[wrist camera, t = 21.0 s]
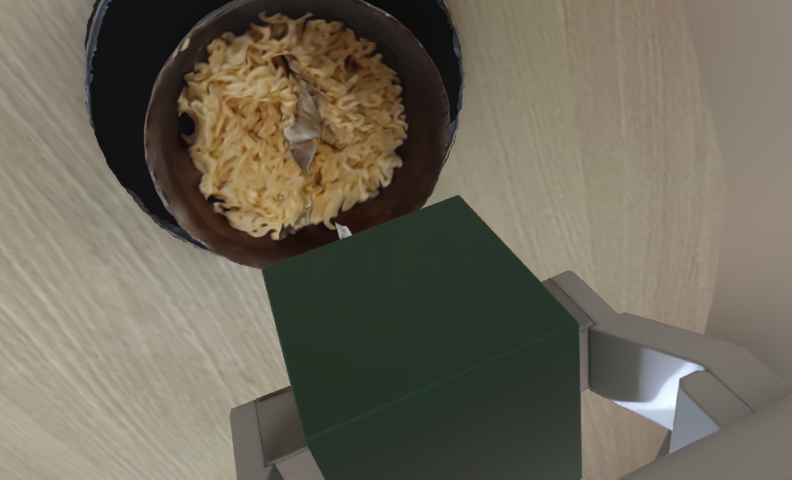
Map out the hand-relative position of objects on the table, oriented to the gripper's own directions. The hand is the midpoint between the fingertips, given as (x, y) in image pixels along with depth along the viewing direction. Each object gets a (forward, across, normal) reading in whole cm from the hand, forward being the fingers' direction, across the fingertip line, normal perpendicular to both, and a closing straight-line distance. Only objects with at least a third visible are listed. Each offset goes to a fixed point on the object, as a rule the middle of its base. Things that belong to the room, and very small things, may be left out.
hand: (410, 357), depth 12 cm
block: (+2, 0, 0) cm, 2 cm away
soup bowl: (+16, 0, 0) cm, 16 cm away
